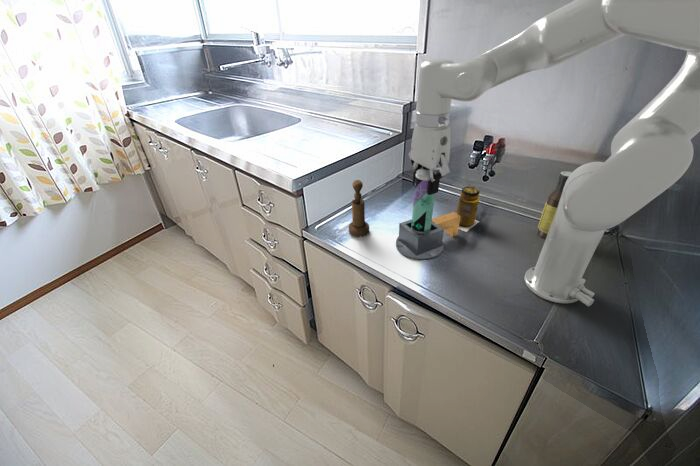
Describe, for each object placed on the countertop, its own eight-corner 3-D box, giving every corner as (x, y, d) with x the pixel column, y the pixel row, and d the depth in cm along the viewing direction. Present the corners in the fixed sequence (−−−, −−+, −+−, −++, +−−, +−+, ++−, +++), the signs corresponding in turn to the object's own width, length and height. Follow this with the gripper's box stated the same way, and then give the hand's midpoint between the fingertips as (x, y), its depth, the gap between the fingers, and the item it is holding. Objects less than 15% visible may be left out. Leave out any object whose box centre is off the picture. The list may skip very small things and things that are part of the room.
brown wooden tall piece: (346, 235, 101) (343, 184, 91) (352, 225, 106) (349, 175, 96) (366, 238, 99) (365, 186, 89) (371, 227, 105) (371, 177, 94)
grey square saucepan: (470, 244, 95) (474, 224, 91) (414, 266, 87) (416, 245, 84) (439, 222, 105) (441, 204, 101) (387, 240, 98) (387, 221, 94)
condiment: (479, 222, 105) (486, 189, 98) (466, 232, 100) (472, 198, 93) (459, 214, 109) (465, 182, 103) (446, 224, 105) (450, 191, 98)
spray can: (419, 221, 95) (425, 157, 84) (434, 228, 91) (443, 163, 80) (407, 228, 92) (412, 163, 81) (422, 236, 89) (429, 169, 77)
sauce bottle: (562, 241, 94) (587, 179, 83) (539, 240, 95) (561, 178, 84) (554, 229, 99) (577, 169, 88) (532, 228, 100) (552, 169, 89)
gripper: (471, 125, 69) (458, 198, 80) (422, 109, 82) (416, 174, 92) (444, 130, 67) (434, 205, 77) (398, 114, 80) (395, 180, 90)
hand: (425, 188), depth 85 cm, fingers closed on spray can, 5 cm apart
